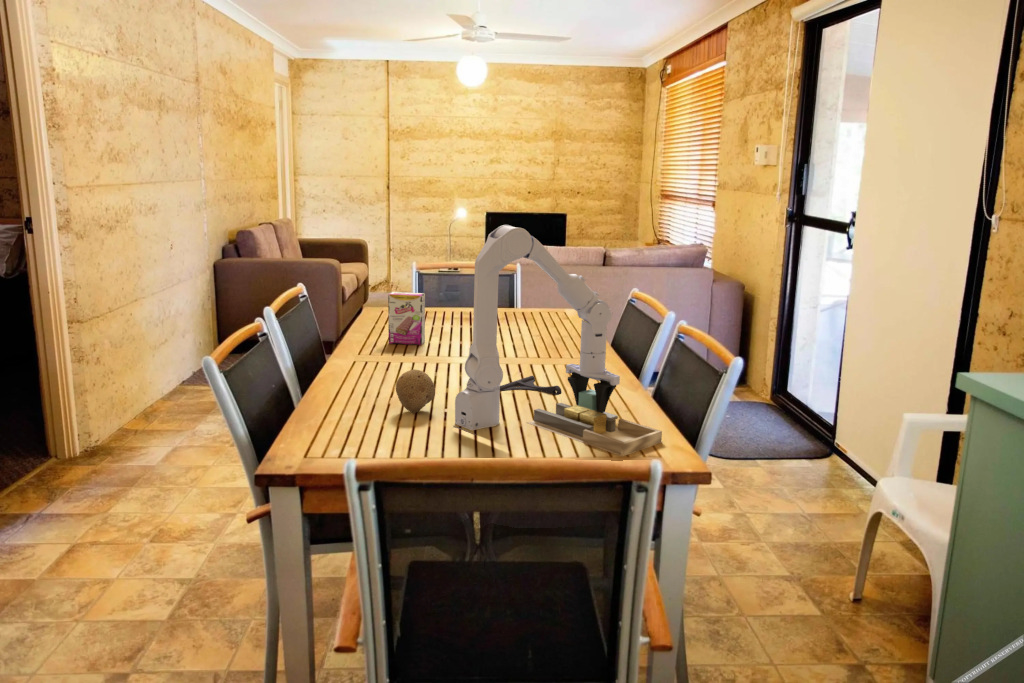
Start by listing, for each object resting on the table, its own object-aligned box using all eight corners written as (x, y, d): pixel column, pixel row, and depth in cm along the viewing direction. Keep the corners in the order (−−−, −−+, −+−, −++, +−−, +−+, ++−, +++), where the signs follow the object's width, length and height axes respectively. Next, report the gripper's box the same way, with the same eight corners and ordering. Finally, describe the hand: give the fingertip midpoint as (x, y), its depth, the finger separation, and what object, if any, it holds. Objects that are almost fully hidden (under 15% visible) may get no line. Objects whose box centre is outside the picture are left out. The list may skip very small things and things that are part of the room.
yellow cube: (593, 436, 162) (594, 417, 161) (579, 431, 164) (579, 413, 164) (605, 432, 164) (606, 414, 163) (591, 427, 167) (592, 409, 166)
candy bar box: (388, 344, 249) (387, 293, 246) (392, 341, 254) (391, 291, 251) (422, 345, 248) (421, 295, 245) (425, 342, 253) (425, 292, 250)
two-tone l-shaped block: (603, 426, 171) (604, 400, 170) (576, 417, 177) (577, 392, 176) (617, 422, 175) (618, 396, 173) (590, 413, 180) (591, 388, 179)
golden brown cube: (577, 430, 165) (578, 412, 164) (563, 426, 168) (564, 408, 167) (589, 427, 168) (590, 409, 167) (576, 422, 170) (576, 405, 170)
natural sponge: (416, 403, 186) (416, 363, 184) (443, 411, 180) (443, 369, 178) (388, 411, 179) (387, 370, 177) (415, 420, 173) (414, 376, 171)
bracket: (543, 403, 190) (543, 392, 190) (496, 392, 199) (496, 381, 198) (575, 391, 201) (576, 381, 201) (529, 381, 210) (530, 371, 210)
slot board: (622, 461, 151) (622, 444, 150) (526, 426, 170) (526, 411, 169) (662, 446, 159) (663, 430, 159) (567, 415, 179) (567, 400, 178)
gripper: (629, 354, 172) (626, 413, 174) (581, 343, 182) (579, 399, 185) (608, 359, 167) (606, 419, 170) (560, 347, 177) (558, 404, 180)
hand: (590, 409), depth 177 cm, fingers open, 6 cm apart
